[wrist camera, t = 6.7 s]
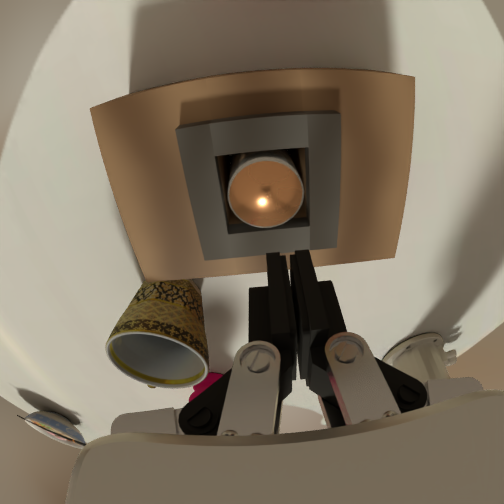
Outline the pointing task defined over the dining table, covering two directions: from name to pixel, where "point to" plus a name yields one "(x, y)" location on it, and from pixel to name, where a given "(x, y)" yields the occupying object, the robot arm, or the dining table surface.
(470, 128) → the dining table surface
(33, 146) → the dining table surface
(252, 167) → the peg
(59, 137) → the dining table surface
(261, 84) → the socket block
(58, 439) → the ramen bowl
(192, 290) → the ceramic cup
